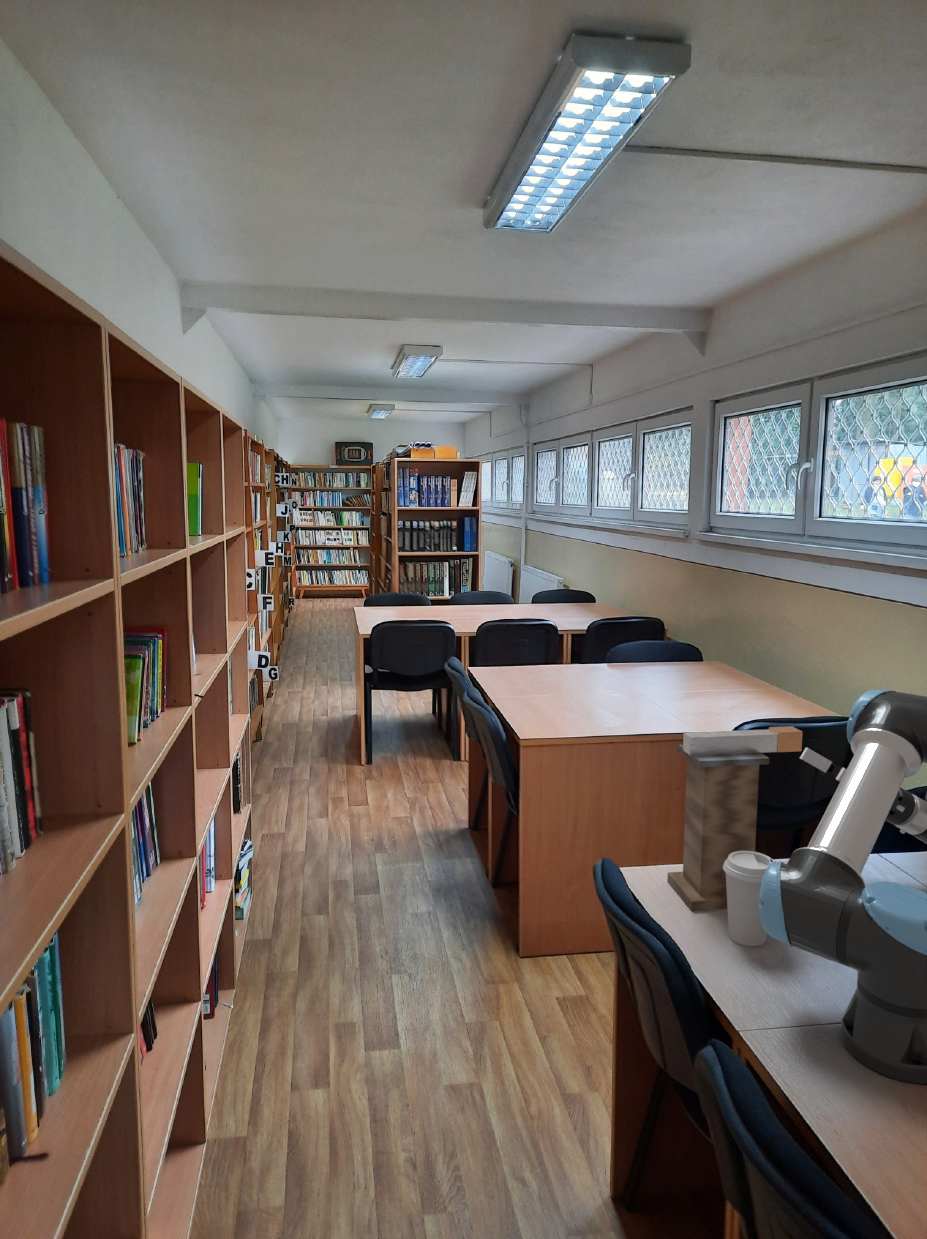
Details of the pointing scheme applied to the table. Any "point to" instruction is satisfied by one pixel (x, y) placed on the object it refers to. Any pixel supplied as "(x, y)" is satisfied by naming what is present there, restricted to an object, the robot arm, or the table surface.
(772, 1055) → the table surface
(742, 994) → the table surface
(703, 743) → the wood grain block
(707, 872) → the post
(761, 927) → the coffee cup
